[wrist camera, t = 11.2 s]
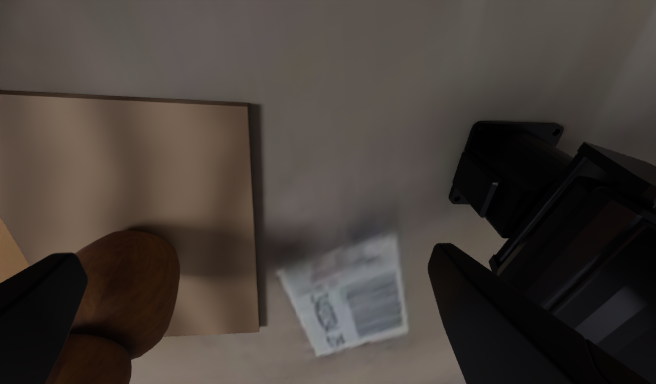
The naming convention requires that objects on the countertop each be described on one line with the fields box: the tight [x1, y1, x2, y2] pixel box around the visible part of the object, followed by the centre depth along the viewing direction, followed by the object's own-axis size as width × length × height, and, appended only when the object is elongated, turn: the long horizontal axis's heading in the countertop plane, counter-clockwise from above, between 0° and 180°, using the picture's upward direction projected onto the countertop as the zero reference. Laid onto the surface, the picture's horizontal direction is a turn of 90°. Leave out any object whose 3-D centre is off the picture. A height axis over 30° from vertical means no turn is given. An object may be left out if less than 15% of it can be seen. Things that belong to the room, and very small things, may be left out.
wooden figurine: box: [45, 230, 180, 384], centre depth 17 cm, size 7×6×15 cm
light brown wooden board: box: [0, 90, 260, 337], centre depth 24 cm, size 16×22×2 cm
